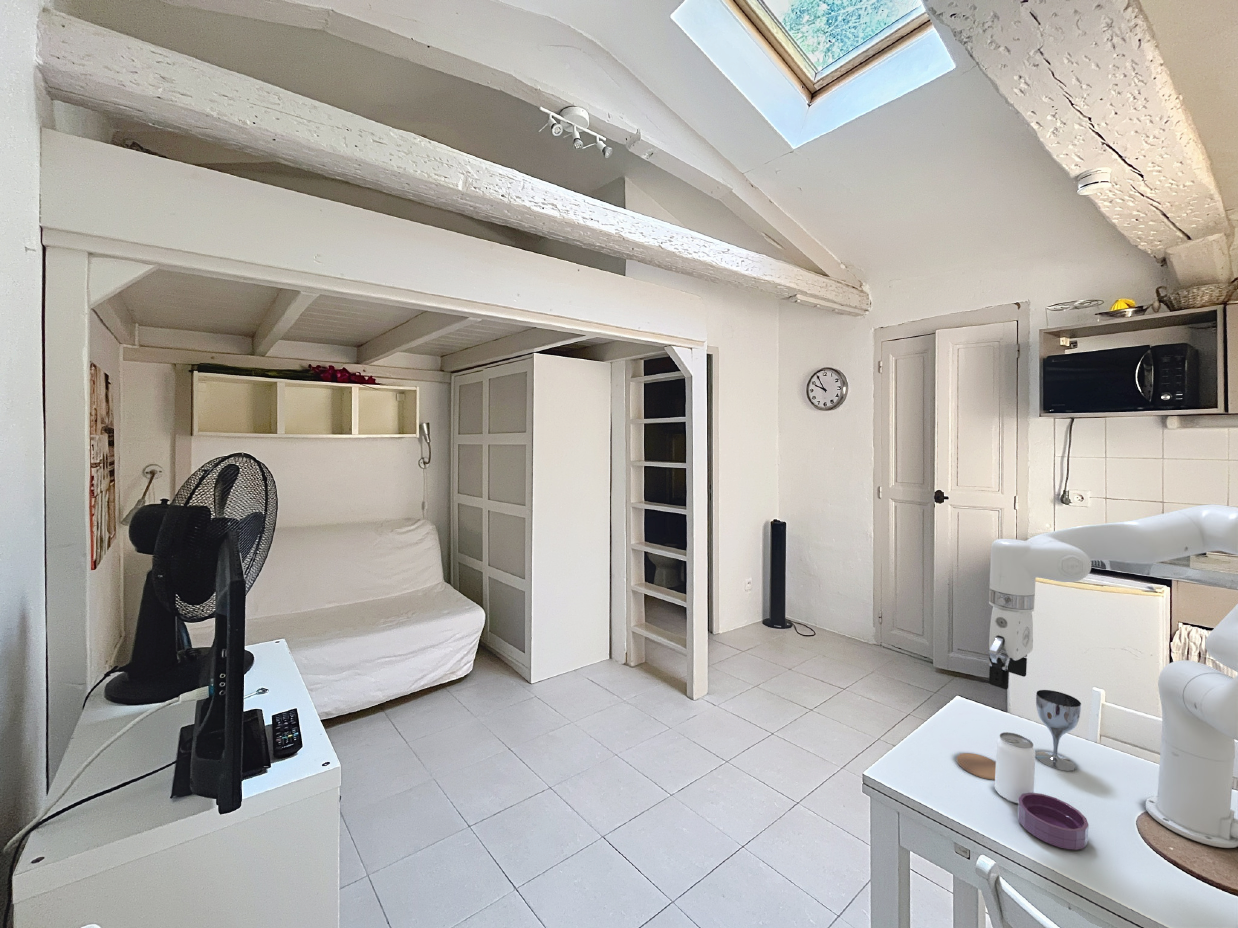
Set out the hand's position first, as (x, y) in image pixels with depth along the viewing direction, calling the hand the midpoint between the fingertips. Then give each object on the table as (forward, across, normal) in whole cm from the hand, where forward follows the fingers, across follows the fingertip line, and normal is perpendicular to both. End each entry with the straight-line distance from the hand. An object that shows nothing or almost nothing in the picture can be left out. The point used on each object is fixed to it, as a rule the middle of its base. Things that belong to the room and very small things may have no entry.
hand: (1007, 680), depth 109 cm
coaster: (+24, +6, +6) cm, 26 cm away
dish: (+25, -5, -10) cm, 27 cm away
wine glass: (+25, +23, -2) cm, 34 cm away
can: (+25, +1, -2) cm, 25 cm away
